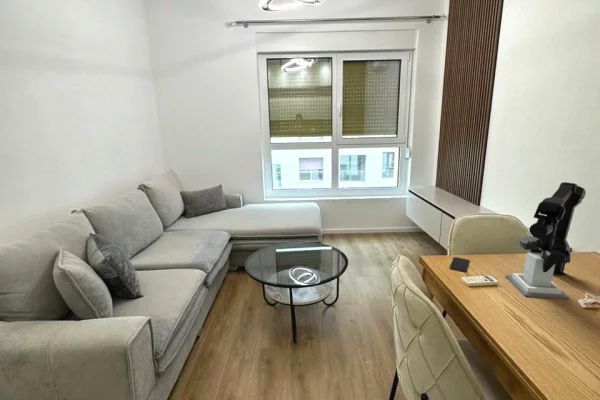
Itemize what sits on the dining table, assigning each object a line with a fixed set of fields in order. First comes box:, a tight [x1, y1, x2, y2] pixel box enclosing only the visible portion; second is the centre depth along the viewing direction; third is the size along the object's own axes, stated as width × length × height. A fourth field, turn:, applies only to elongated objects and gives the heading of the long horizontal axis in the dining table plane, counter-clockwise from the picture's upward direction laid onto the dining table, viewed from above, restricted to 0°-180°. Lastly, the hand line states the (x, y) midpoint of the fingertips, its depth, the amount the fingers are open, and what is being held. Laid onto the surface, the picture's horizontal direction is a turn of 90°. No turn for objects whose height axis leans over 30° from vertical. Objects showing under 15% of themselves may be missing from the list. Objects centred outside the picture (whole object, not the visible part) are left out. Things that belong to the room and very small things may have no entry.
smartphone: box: [448, 256, 471, 273], centre depth 153 cm, size 7×1×15 cm
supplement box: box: [522, 252, 555, 288], centre depth 130 cm, size 7×7×13 cm
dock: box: [504, 272, 570, 300], centre depth 132 cm, size 16×16×3 cm
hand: (539, 267), depth 130 cm, fingers closed on supplement box, 7 cm apart
